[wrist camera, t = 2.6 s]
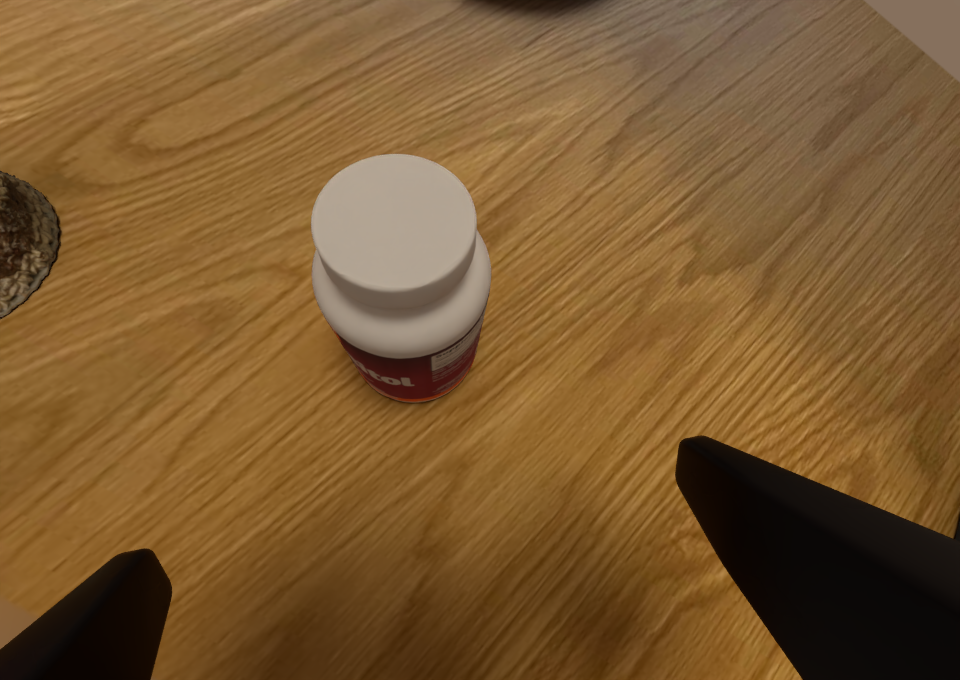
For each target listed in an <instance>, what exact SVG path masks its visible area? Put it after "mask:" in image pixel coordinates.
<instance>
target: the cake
mask: <svg viewBox="0 0 960 680" xmlns="http://www.w3.org/2000/svg"><path fill="white" fill-rule="evenodd" d="M59 230H60V229H58V225H57V215H56V214H55V213H54V212H53V210H52V207H51V204H50V203H48V202H47V201H46V200H45V198H44V195H43V194H42V193H40V192H39V191H37V190H35V189H33V188H32V186H31V185H30V184H29V183H28V182H27V183H26V182H25V181H23V180H22V181H21V180H19V179H18V178H15V176H14V175H13V176H11V175H9V174H8V173H3V172H2V171H0V317H3V316H4V315H6V314H8V313H10V312H11V309H14V308H15V307H16V306H17V305H18V304H20V303H22V302H24V300H26V299H27V297H28V296H29V295H31V293H32V292H33V291H34V290H36V289H38V286H40V285H39V284H40V283H41V280H42V279H43V278H44V276H46V275H47V274H48V272H49V271H48V270H50V269H49V267H50V266H51V263H52V262H53V261H54V260H55V258H56V250H57V247H58V245H59V242H58V240H57V239H58V235H57V234H58V232H59ZM50 268H51V267H50Z"/></svg>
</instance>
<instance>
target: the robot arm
mask: <svg viewBox="0 0 960 680" xmlns="http://www.w3.org/2000/svg"><path fill="white" fill-rule="evenodd" d="M675 477H676V482H677V484H678V487H679V489H680V491H681V492H682V494H683V496H684V498H685V499H686V501H687V503H688V505H689V506H690V508H691V510H692V512H693V514H694V515H695V517H696V519H697V521H698V522H699V524H700V526H701V528H702V529H703V531H704V533H705V535H706V536H707V538H708V540H709V542H710V543H711V545H712V547H713V549H714V551H715V552H716V554H717V556H718V557H719V559H720V560H721V562H722V564H723V565H724V567H725V568H726V570H727V571H728V573H729V574H730V576H731V577H732V579H733V580H734V582H735V583H736V584H737V586H738V587H739V589H740V590H741V592H742V593H743V594H744V596H745V597H746V599H747V600H748V602H749V603H750V605H751V606H752V607H753V609H754V610H755V612H756V613H757V615H758V616H759V617H760V619H761V620H762V622H763V623H764V625H765V626H766V627H767V629H768V630H769V632H770V633H771V635H772V636H773V637H774V639H775V640H776V642H777V643H778V645H779V646H780V647H781V649H782V650H783V652H784V653H785V655H786V656H787V658H788V659H789V660H790V662H791V663H792V665H793V666H794V668H795V669H796V670H797V672H798V673H799V675H800V676H801V678H802V679H803V680H960V542H959V541H957V540H955V539H952V538H950V537H947V536H945V535H943V534H940V533H938V532H935V531H933V530H931V529H928V528H926V527H923V526H921V525H919V524H916V523H914V522H911V521H909V520H906V519H904V518H902V517H899V516H897V515H894V514H892V513H890V512H887V511H885V510H882V509H880V508H878V507H875V506H873V505H870V504H868V503H866V502H863V501H861V500H858V499H856V498H854V497H851V496H849V495H846V494H844V493H841V492H839V491H837V490H834V489H832V488H829V487H827V486H825V485H822V484H820V483H817V482H815V481H813V480H810V479H808V478H805V477H803V476H801V475H798V474H796V473H793V472H791V471H789V470H786V469H784V468H781V467H779V466H777V465H774V464H772V463H769V462H767V461H764V460H762V459H760V458H757V457H755V456H752V455H750V454H748V453H745V452H743V451H740V450H738V449H736V448H733V447H731V446H728V445H726V444H724V443H721V442H719V441H716V440H714V439H712V438H709V437H706V436H695V437H690V438H685V439H683V440H682V441H681V442H680V444H679V448H678V456H677V464H676V471H675ZM171 597H172V586H171V582H170V580H169V578H168V576H167V574H166V573H165V571H164V569H163V567H162V566H161V564H160V562H159V560H158V559H157V557H156V555H155V553H154V552H153V551H152V550H150V549H145V548H144V549H139V550H134V551H129V552H124V553H121V554H118V555H116V556H115V557H113V558H112V559H111V560H110V561H108V562H107V563H106V564H105V565H103V566H102V567H101V568H100V569H99V570H97V571H96V572H95V573H94V574H92V575H91V576H90V577H89V578H87V579H86V580H85V581H84V582H83V583H81V584H80V585H79V586H78V587H76V588H75V589H74V590H73V591H72V592H70V593H69V594H68V595H67V596H65V597H64V598H63V599H62V600H60V601H59V602H58V603H57V604H56V605H54V606H53V607H52V608H51V609H49V610H48V611H47V612H46V613H44V614H43V615H42V616H41V617H40V618H38V619H37V620H36V621H35V622H33V623H32V624H31V625H30V626H29V627H27V628H26V629H25V630H24V631H22V632H21V633H20V634H19V635H18V636H16V637H15V638H14V639H13V640H11V641H10V642H9V643H8V644H6V645H5V646H4V647H3V648H1V649H0V680H151V676H152V672H153V668H154V664H155V660H156V657H157V653H158V649H159V645H160V641H161V637H162V633H163V629H164V625H165V621H166V618H167V614H168V610H169V606H170V602H171Z"/></svg>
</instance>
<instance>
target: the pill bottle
mask: <svg viewBox="0 0 960 680" xmlns="http://www.w3.org/2000/svg"><path fill="white" fill-rule="evenodd" d="M311 229H312V237H313V241H314V244H315V247H316V252H315V255H314V259H313V265H312V283H313V289H314V294H315V297H316V300H317V303H318V306H319V308H320V310H321V311H322V313H323V315H324V317H325V319H326V320H327V322H328V323H329V325H330V326H331V328H332V329H333V331H334V333H335V334H336V336H337V337H338V339H339V340H340V342H341V344H342V345H343V347H344V348H345V350H346V351H347V353H348V354H349V356H350V358H351V359H352V361H353V363H354V364H355V366H356V368H357V369H358V371H359V372H360V374H361V375H362V377H363V378H364V379H365V380H366V382H367V383H368V384H369V385H370V386H371V387H372V388H373V389H375V390H376V391H377V392H379V393H381V394H382V395H384V396H387V397H389V398H391V399H394V400H398V401H402V402H410V403H418V402H426V401H430V400H434V399H436V398H439V397H441V396H443V395H445V394H447V393H448V392H450V391H451V390H453V389H454V388H455V387H456V386H457V385H458V384H459V383H460V382H461V381H462V380H463V379H464V378H465V376H466V375H467V373H468V371H469V370H470V368H471V366H472V364H473V361H474V358H475V355H476V350H477V346H478V341H479V337H480V332H481V327H482V323H483V318H484V314H485V309H486V305H487V300H488V297H489V291H490V283H491V265H490V259H489V254H488V251H487V248H486V245H485V243H484V241H483V239H482V237H481V236H480V234H479V232H478V231H477V220H476V211H475V207H474V204H473V201H472V198H471V196H470V194H469V192H468V191H467V189H466V188H465V186H464V185H463V184H462V182H461V181H460V180H459V179H458V178H457V177H456V176H455V175H454V174H453V173H451V172H450V171H449V170H447V169H446V168H444V167H443V166H441V165H439V164H437V163H435V162H433V161H430V160H427V159H425V158H422V157H417V156H413V155H405V154H386V155H378V156H374V157H370V158H366V159H363V160H360V161H358V162H356V163H354V164H351V165H350V166H348V167H346V168H344V169H343V170H341V171H340V172H339V173H337V174H336V175H335V176H334V177H333V178H332V179H331V180H330V181H329V182H328V183H327V184H326V185H325V186H324V188H323V189H322V191H321V192H320V194H319V195H318V197H317V200H316V202H315V205H314V208H313V212H312V217H311Z"/></svg>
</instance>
